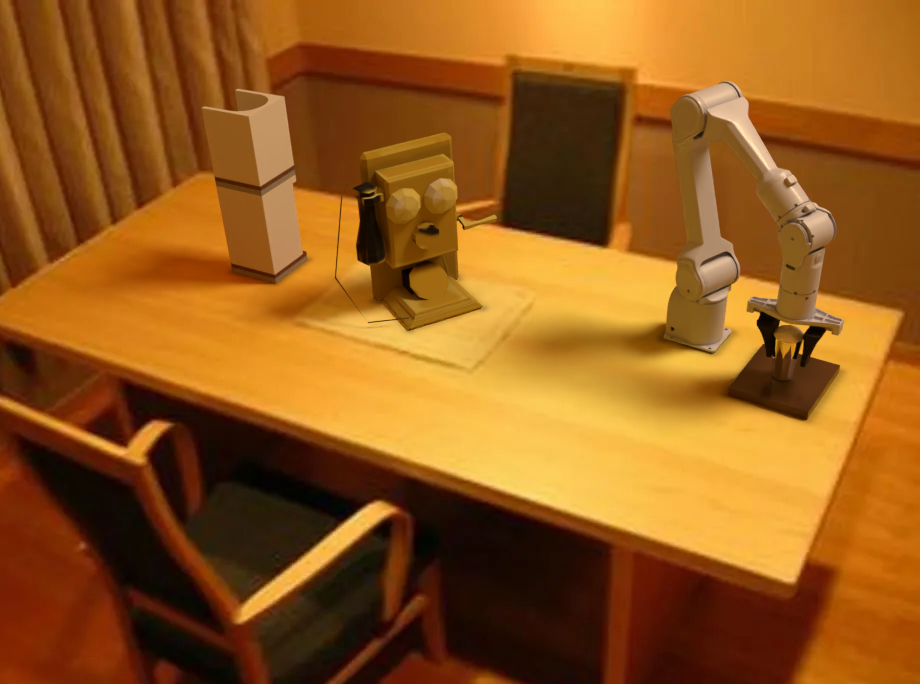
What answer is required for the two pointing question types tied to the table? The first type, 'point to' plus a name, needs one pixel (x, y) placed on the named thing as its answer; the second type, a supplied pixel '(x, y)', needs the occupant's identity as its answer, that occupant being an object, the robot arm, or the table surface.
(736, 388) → the board
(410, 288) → the vintage telephone
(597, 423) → the table surface
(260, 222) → the scooped banded pillar
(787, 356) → the milkshake
